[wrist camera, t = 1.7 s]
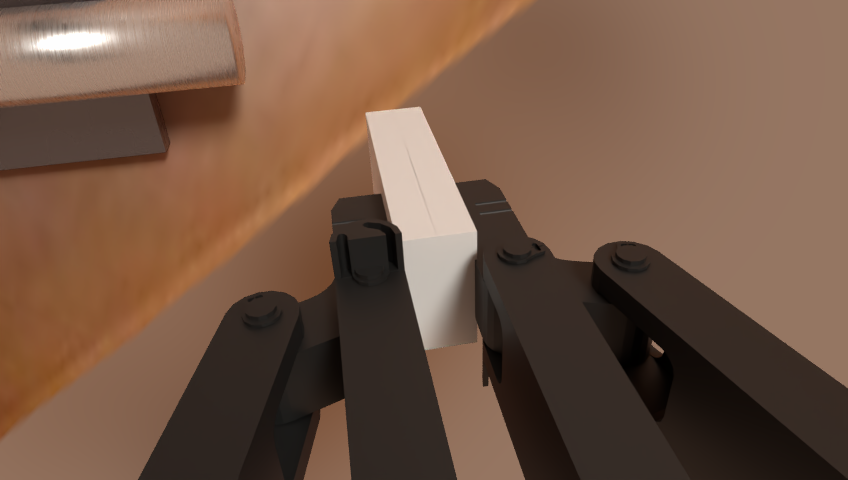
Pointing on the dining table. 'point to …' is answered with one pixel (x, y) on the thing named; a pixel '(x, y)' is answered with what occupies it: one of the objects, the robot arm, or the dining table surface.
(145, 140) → the grey mechanical fixture
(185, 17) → the air tube
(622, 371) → the robot arm
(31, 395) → the dining table surface
